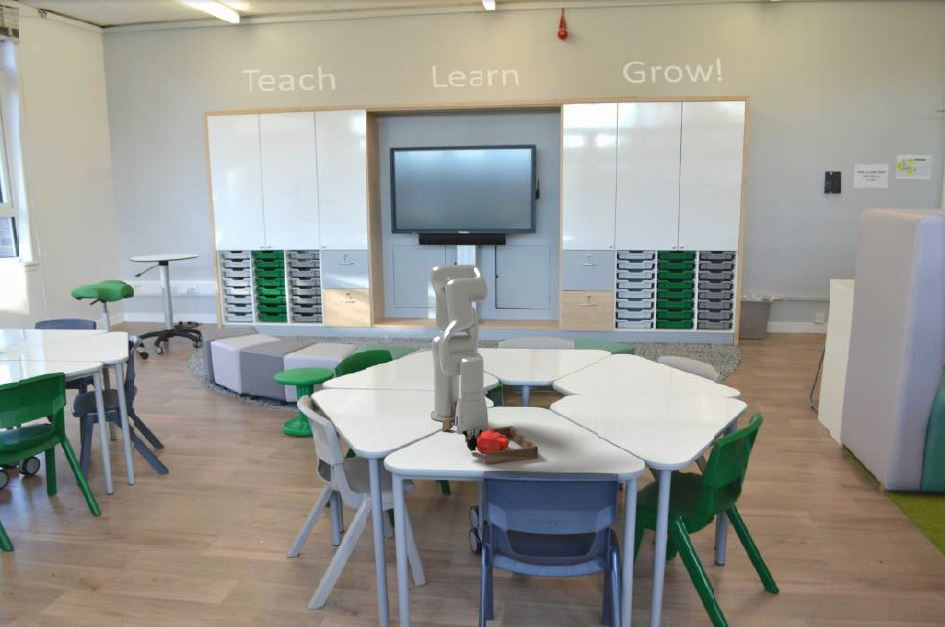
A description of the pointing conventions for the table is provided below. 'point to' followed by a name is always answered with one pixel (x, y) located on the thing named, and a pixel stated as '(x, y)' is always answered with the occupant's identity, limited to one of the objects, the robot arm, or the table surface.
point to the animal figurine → (491, 441)
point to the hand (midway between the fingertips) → (472, 449)
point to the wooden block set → (448, 420)
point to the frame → (514, 454)
